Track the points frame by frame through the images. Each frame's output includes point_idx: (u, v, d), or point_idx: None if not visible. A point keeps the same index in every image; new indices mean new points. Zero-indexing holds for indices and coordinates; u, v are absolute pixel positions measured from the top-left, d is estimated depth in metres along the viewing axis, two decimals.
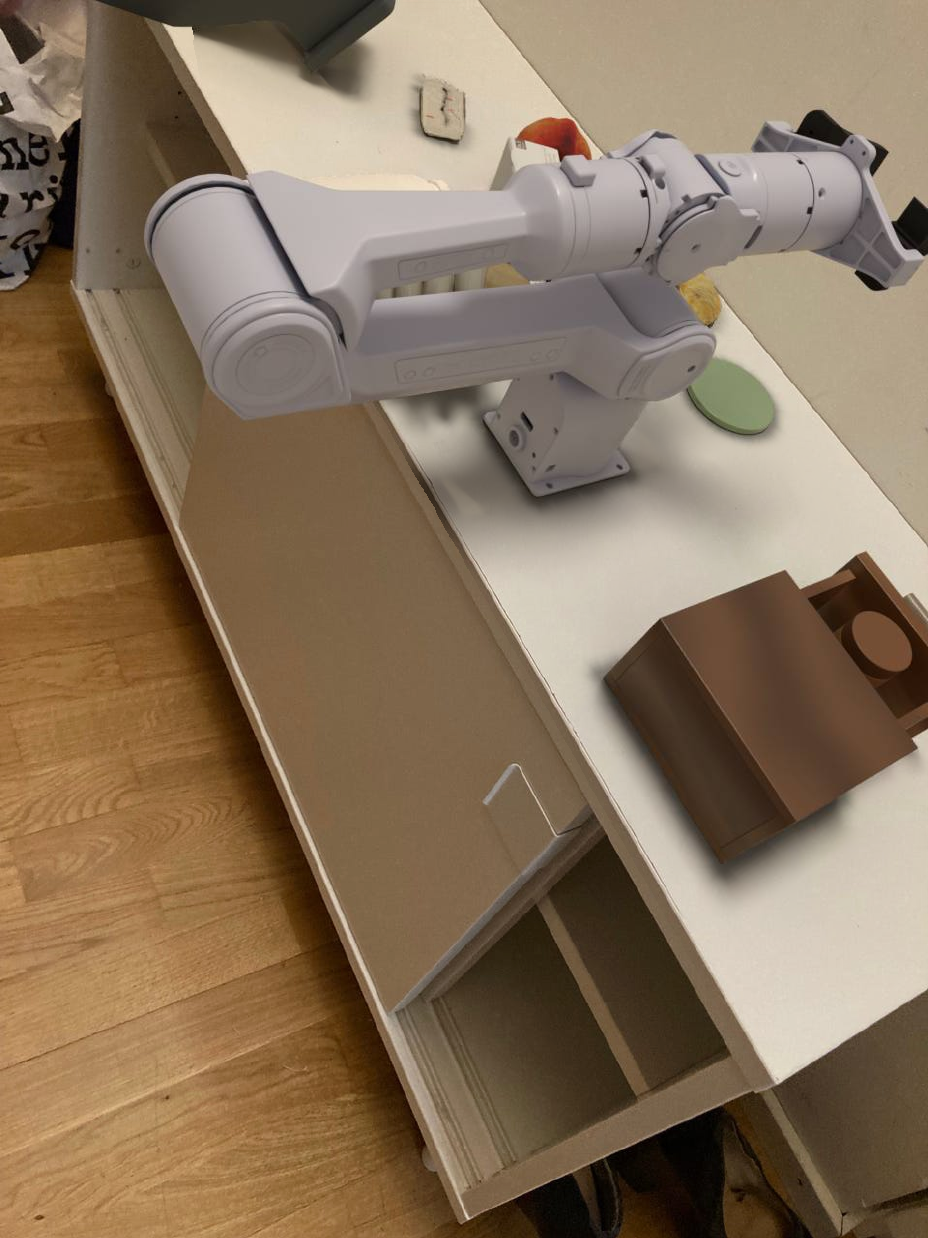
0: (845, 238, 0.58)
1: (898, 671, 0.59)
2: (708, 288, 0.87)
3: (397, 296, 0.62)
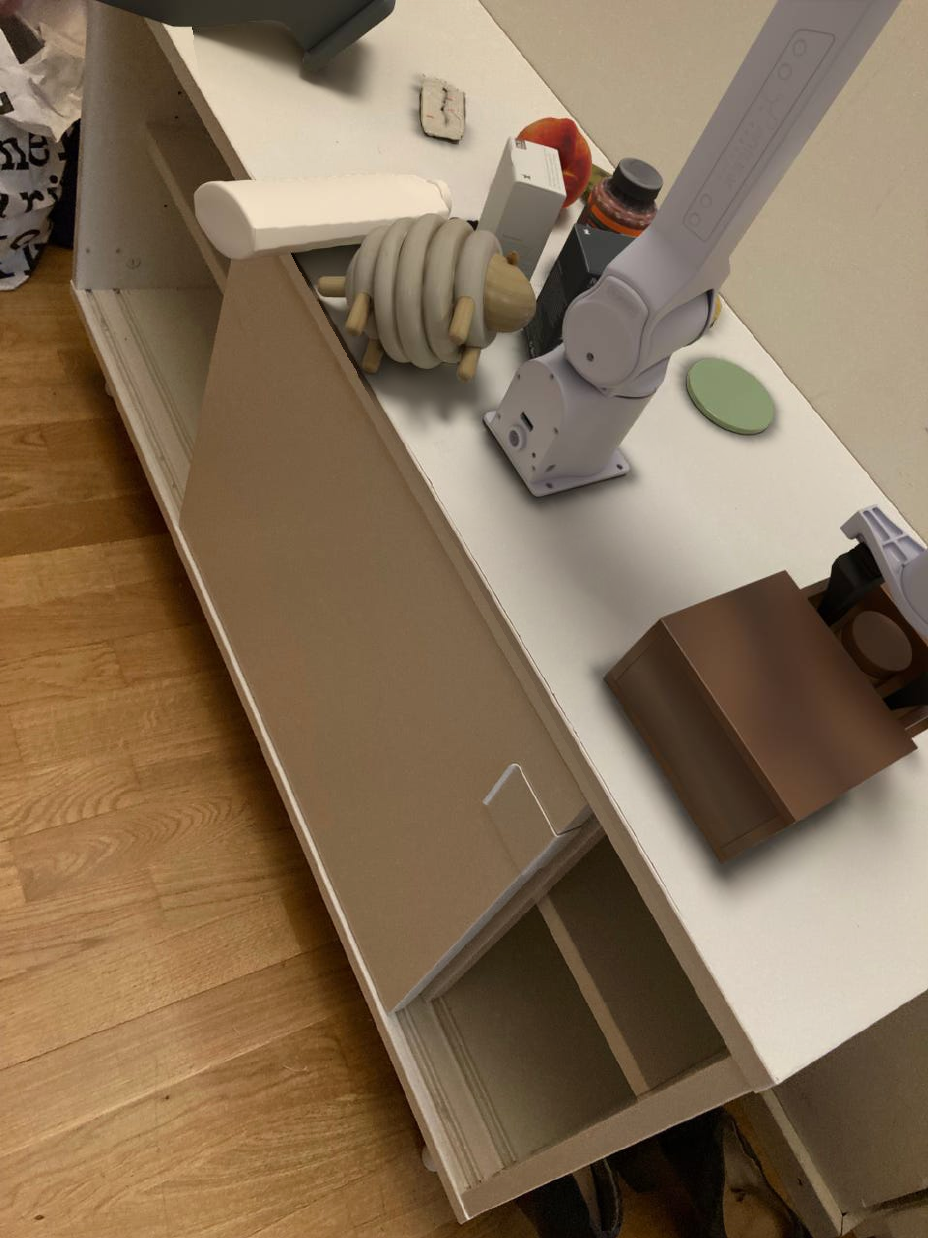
0: None
1: (898, 671, 0.59)
2: None
3: (397, 296, 0.62)
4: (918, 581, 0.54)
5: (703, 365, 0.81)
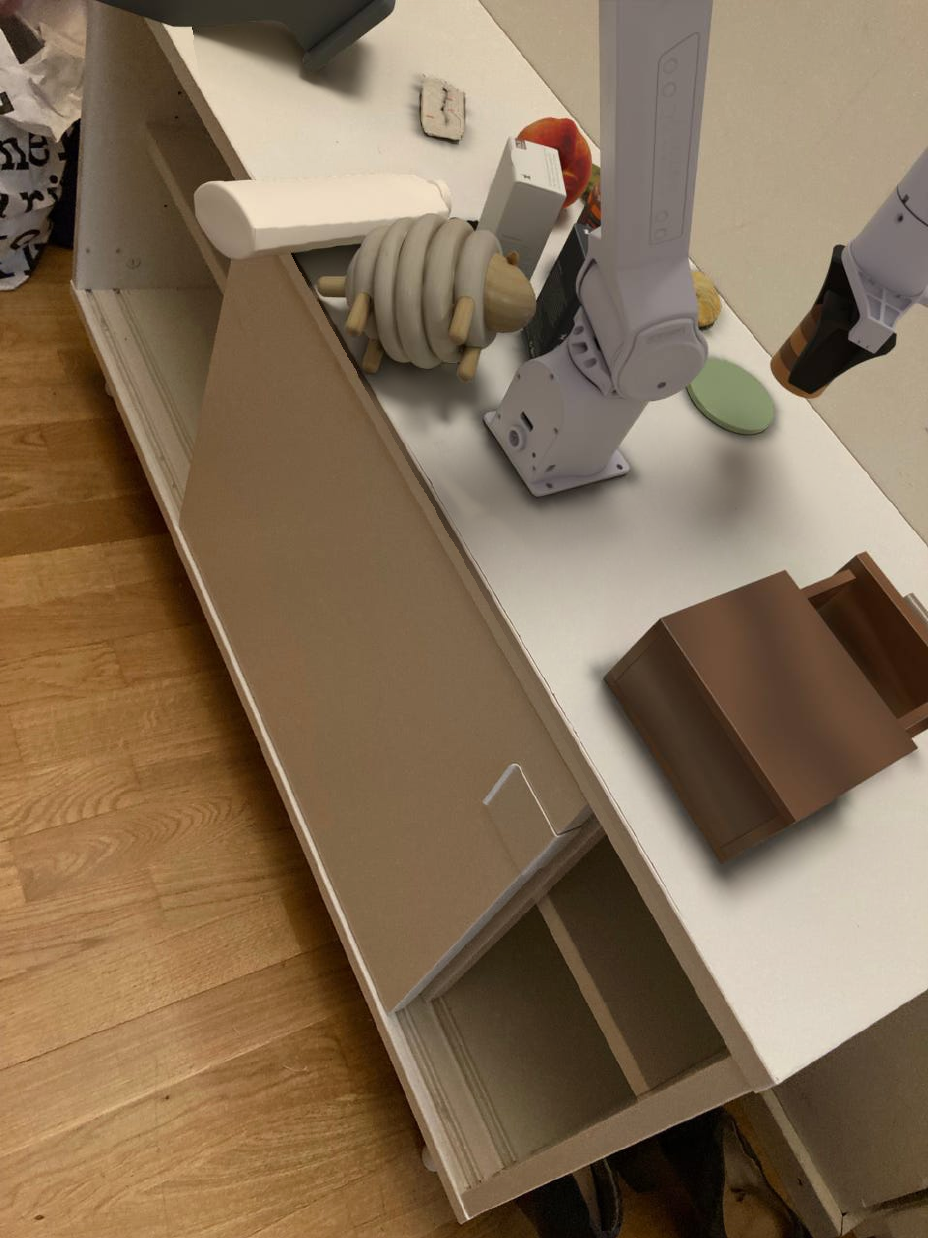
0: (876, 283, 0.60)
1: None
2: (708, 288, 0.87)
3: (397, 296, 0.62)
4: None
5: None
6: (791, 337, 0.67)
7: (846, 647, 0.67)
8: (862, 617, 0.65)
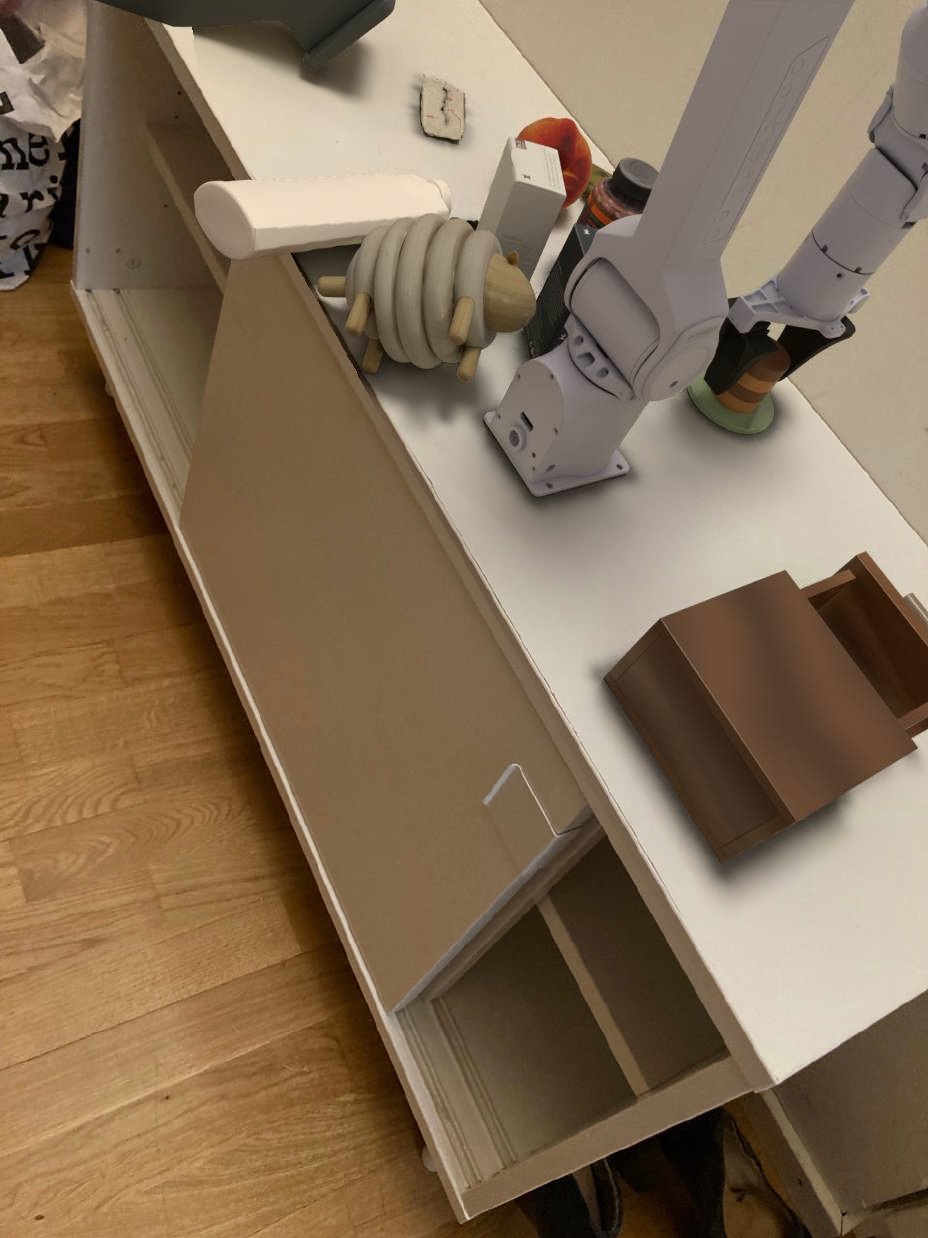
0: (779, 293, 0.70)
1: None
2: None
3: (397, 296, 0.62)
4: None
5: None
6: None
7: (846, 647, 0.67)
8: (862, 617, 0.65)
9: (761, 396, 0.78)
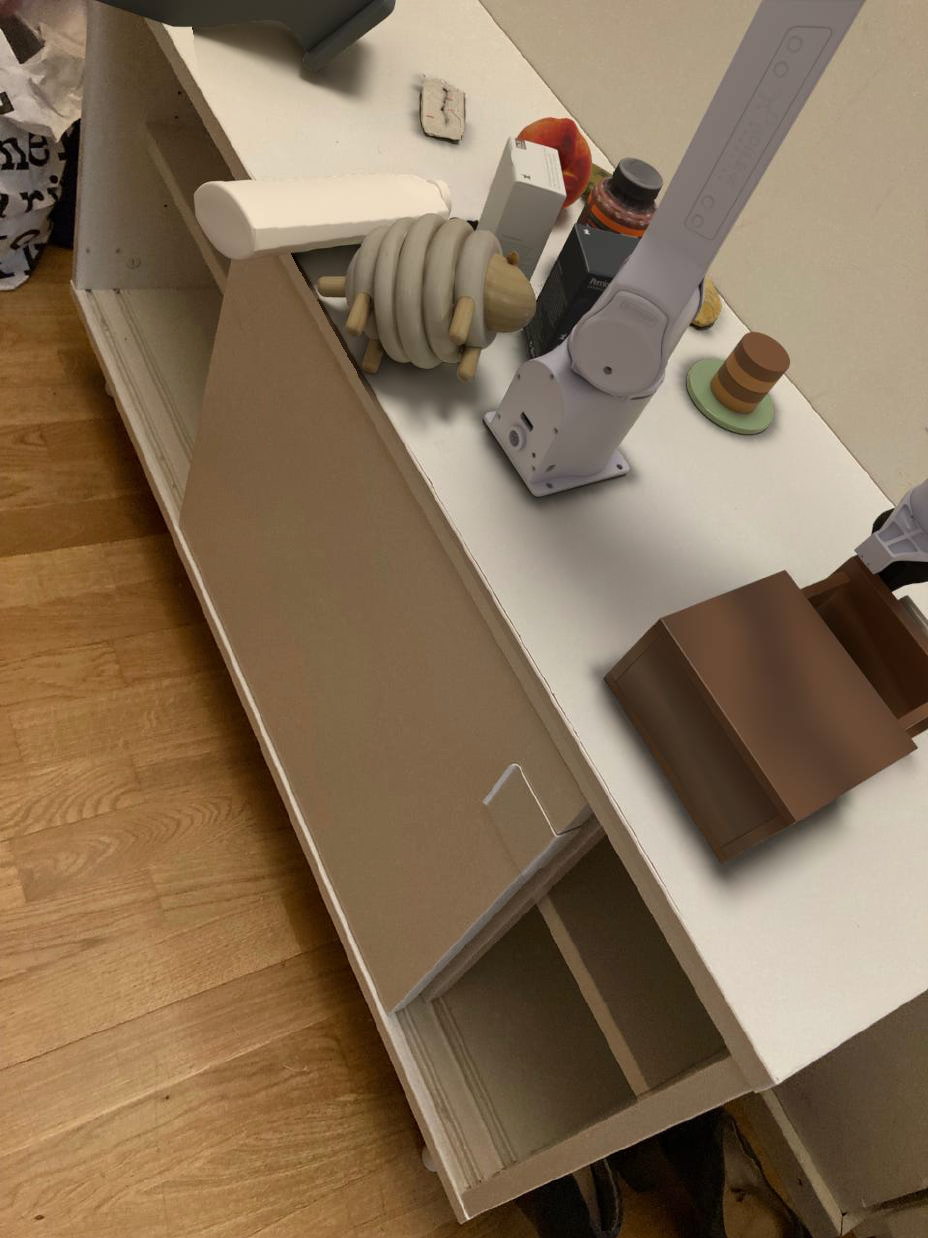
0: (916, 521, 0.59)
1: (744, 351, 0.75)
2: (708, 288, 0.87)
3: (397, 296, 0.62)
4: None
5: (703, 365, 0.81)
6: None
7: None
8: (857, 619, 0.65)
9: (761, 396, 0.78)
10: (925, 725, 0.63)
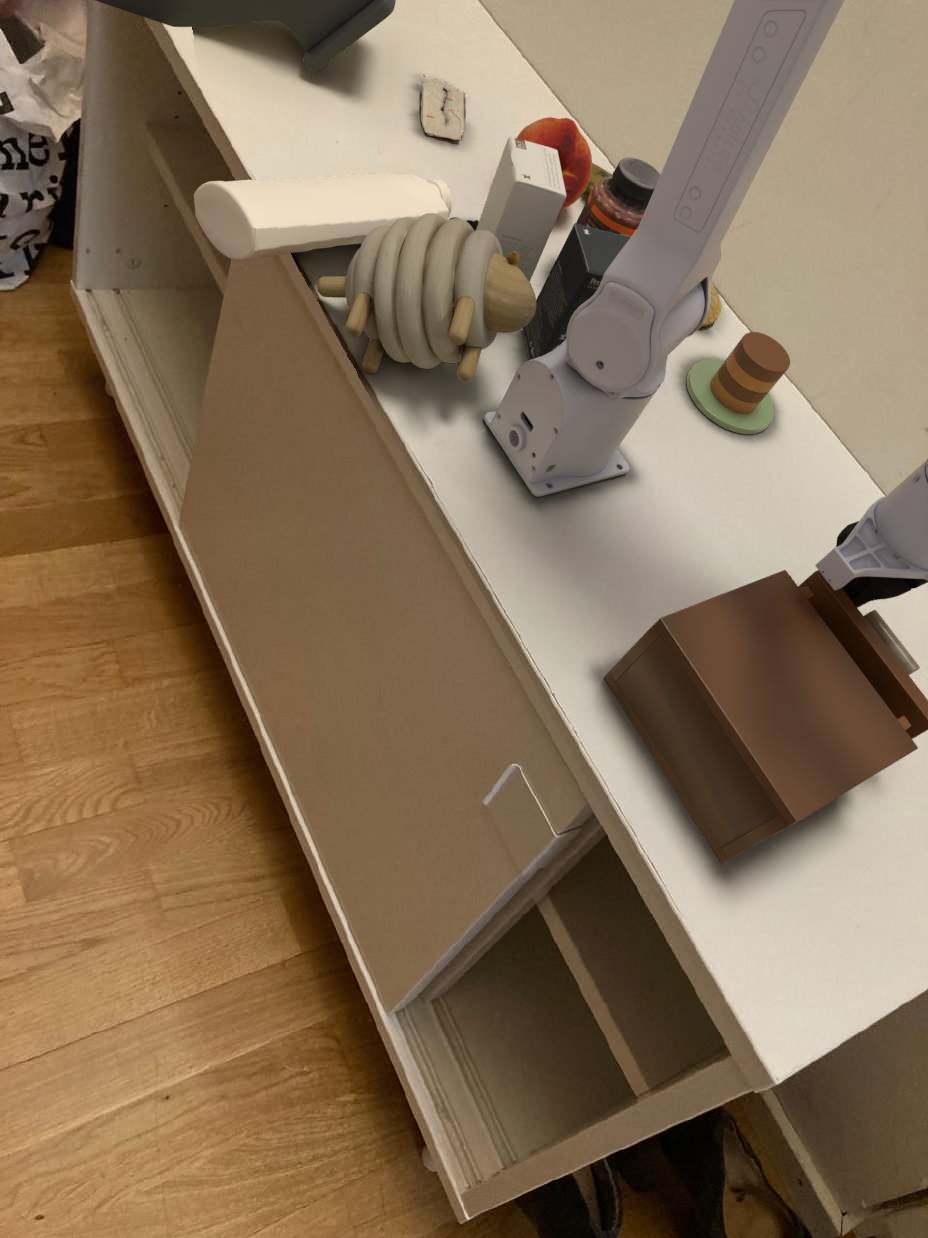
0: (880, 535, 0.57)
1: (744, 351, 0.75)
2: None
3: (397, 296, 0.62)
4: None
5: (703, 365, 0.81)
6: None
7: None
8: None
9: (761, 396, 0.78)
10: None
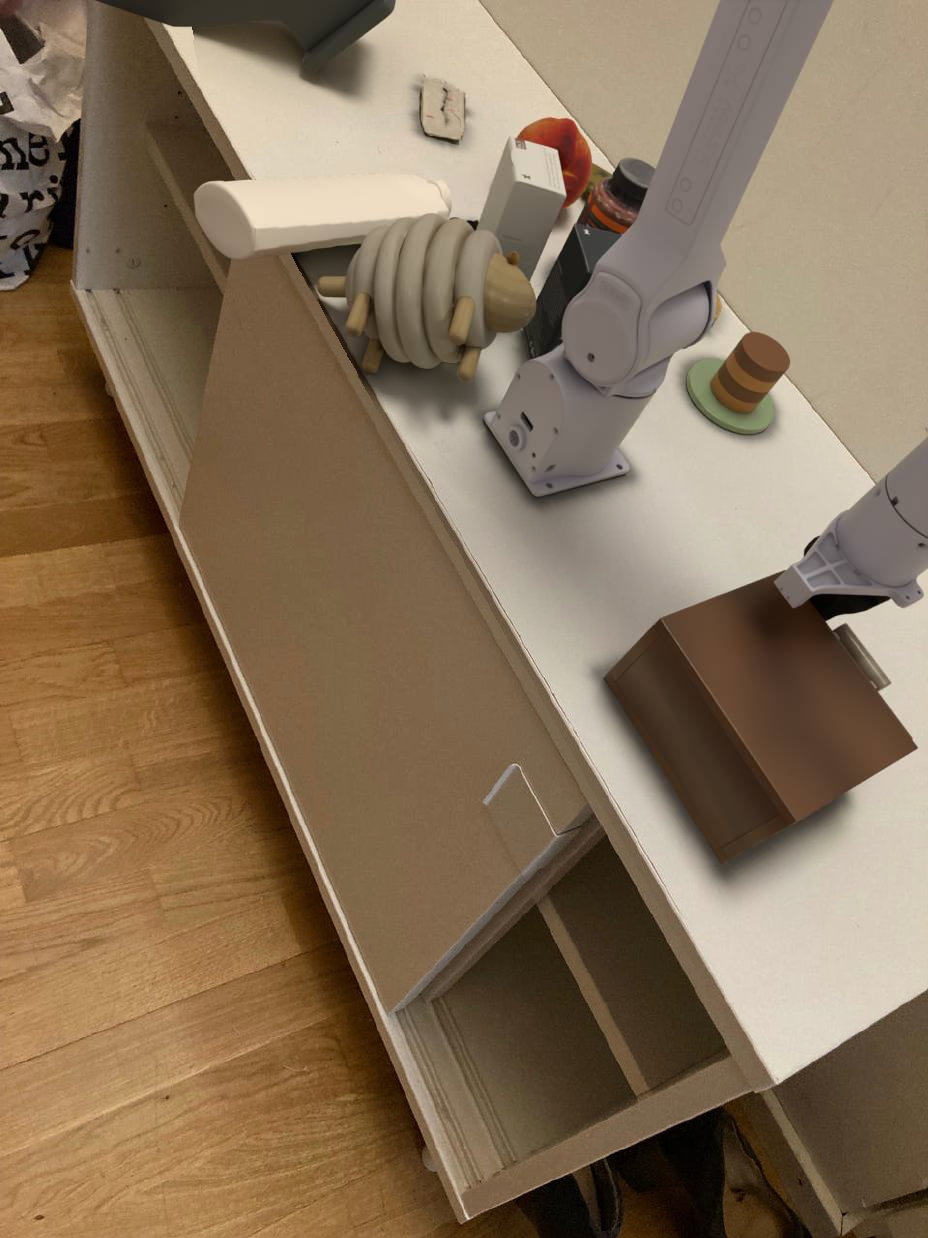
0: (841, 551, 0.55)
1: (744, 351, 0.75)
2: None
3: (397, 296, 0.62)
4: None
5: (703, 365, 0.81)
6: None
7: None
8: None
9: (761, 396, 0.78)
10: None
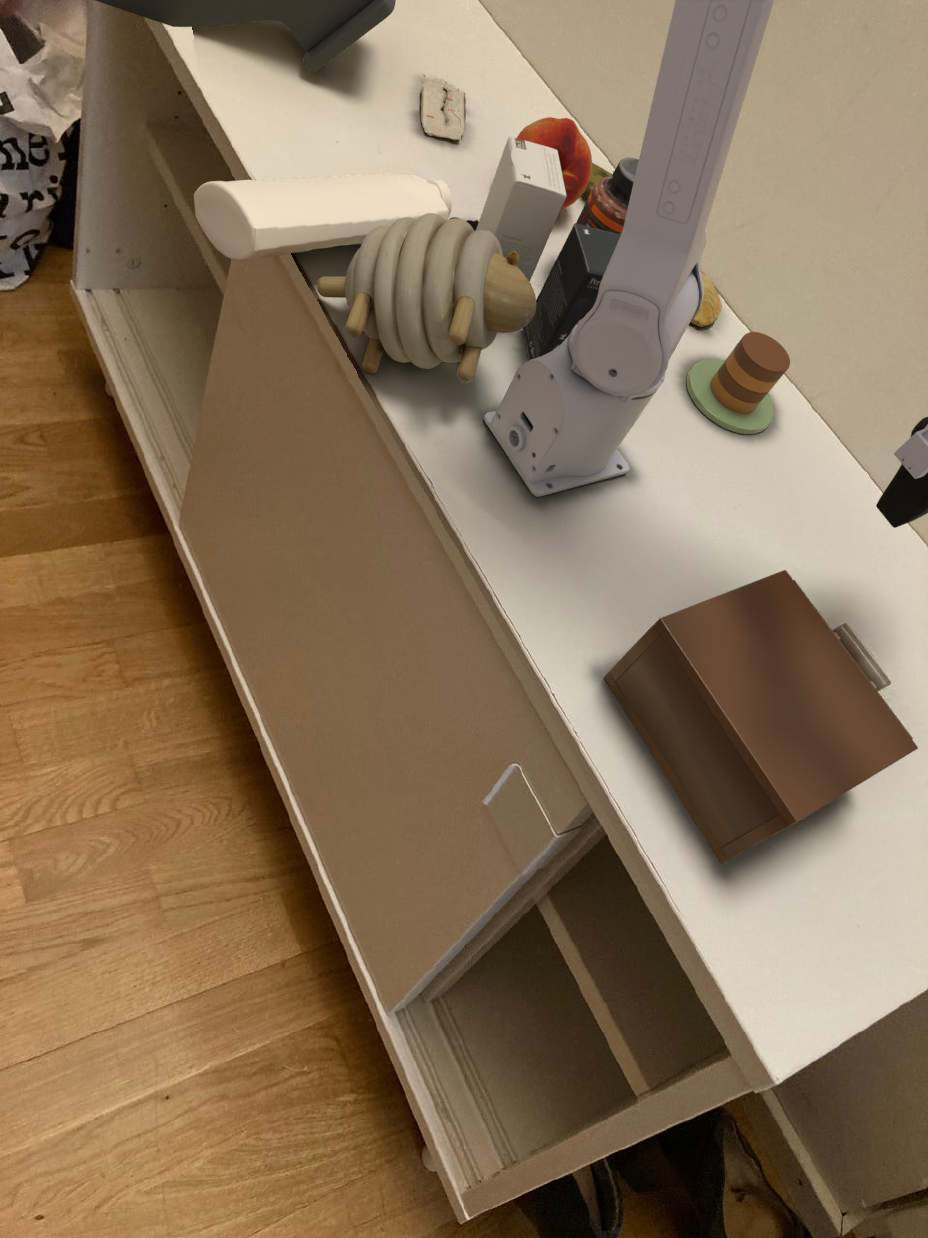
0: None
1: (744, 351, 0.75)
2: (708, 288, 0.87)
3: (397, 296, 0.62)
4: None
5: (703, 365, 0.81)
6: None
7: None
8: None
9: (761, 396, 0.78)
10: None
